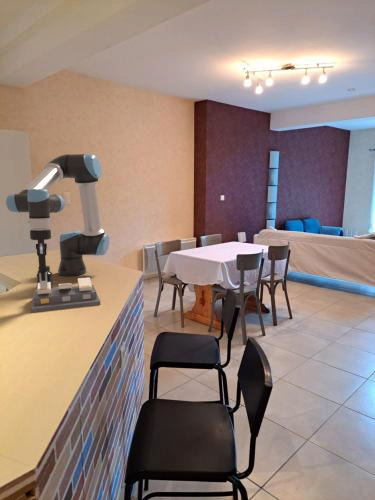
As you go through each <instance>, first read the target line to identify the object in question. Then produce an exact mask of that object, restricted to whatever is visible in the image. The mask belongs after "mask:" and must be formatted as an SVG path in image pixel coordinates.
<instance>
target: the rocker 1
mask: <svg viewBox="0 0 375 500" xmlns="http://www.w3.org/2000/svg"><path fill="white" fill-rule="evenodd" d="M47 285H48V288H45V289H40V283H38V288H37V287H36V290H37V292H38V294H44V293H51V282H47Z"/></svg>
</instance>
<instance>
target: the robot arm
mask: <svg viewBox="0 0 375 500" xmlns="http://www.w3.org/2000/svg"><path fill="white" fill-rule="evenodd" d="M101 177H102V164H101V162H100V160H99V158H98V157H97V156H96V155H94V154H91V153H90V154H89V153H86V154H85V153H81V154H80V153H79V154H77V153H76V154H73V153H72V154H69V153H68V154H62V155H59V156H57V157H55V158H53V159H52V160H50V161H49V162H48V163H46V164H45V165H44V168H43V170H42V171H41V172H40V173H39V174H37V176H36V177H35V178H34V179H33V180H31V181H30V182H29V183H28V184H27V185H26V186H25V187H24V188H22V189H21V191H20V192H18V193H10V194H9V195H7V196H6V200H5V204H6V207H7V210H9V211H10V212H12V213H28V221H27V224H29V229H30V230H29V237H30V238H29V239H30V240H31V241H37V243H36V244H35V249H36V256H37V257H38V267H39V269H38V270H39V271H38V270H37V272H36V274H37V273H39V277H40V289H45V288H48V285H47V271H48V269H46V266H47V259H46V256H47V248H48V247H47V246H48V245H47V244H48V243H45V241H47V240H50V239H52V230H51V225H52V224H51V214H52V213H53V214H54V213H59V212H62V211H63V210H64V208H65V205H66V203H65V199H64V198H63V197H62V196H61V195H59V194H56V193H53V194H52V193H51V194H49V193H50V192H49V190H50V189H51V188H52V187H53V186H54V185H55V184H56V183H57V182H60V181H62V180H63V179H74V184H76V185H77V186H78V190H79V198H80V204H81V212H82V214H81V215H82V221H83V228H84V229H83V230H82V231H81V230H76V231H68V232H64V233H61V234H60V235H59V252H60V254H59V255H60V262H59V264H58V265H59V266H58V268H57V274H58V275H59V276H63V277H68V276H69V277H72V276H74V277H75V276H81V275H84V274H86V273H87V267H86V264H85V262H84V258H83V256H96V257H97V256H105V255H106V254H107V252H108V249H109V247H110V246H109V245H110V237H109V235H108V234H107V233H105V230H104V229H103V228H102V226H101V225H102V223H101V218H100V217H101V216H100V208H99V202H98V201H99V200H98V191H97V183H98V182H99V179H100V178H101Z"/></svg>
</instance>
